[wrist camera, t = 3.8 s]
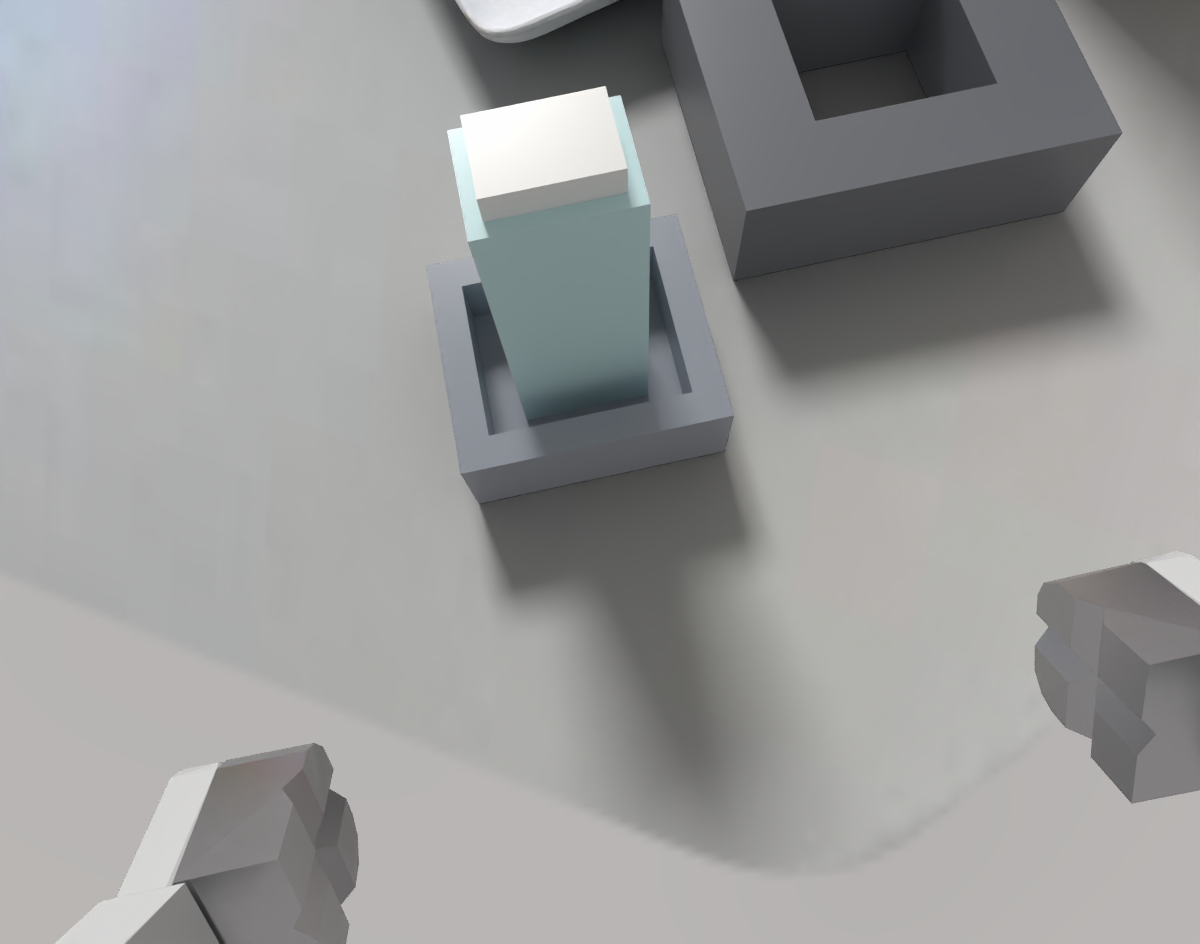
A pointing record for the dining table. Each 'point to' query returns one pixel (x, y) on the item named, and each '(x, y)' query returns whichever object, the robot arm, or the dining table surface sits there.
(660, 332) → the grey storage bin
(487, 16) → the salad plate
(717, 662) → the dining table surface
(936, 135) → the block
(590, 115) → the plug
